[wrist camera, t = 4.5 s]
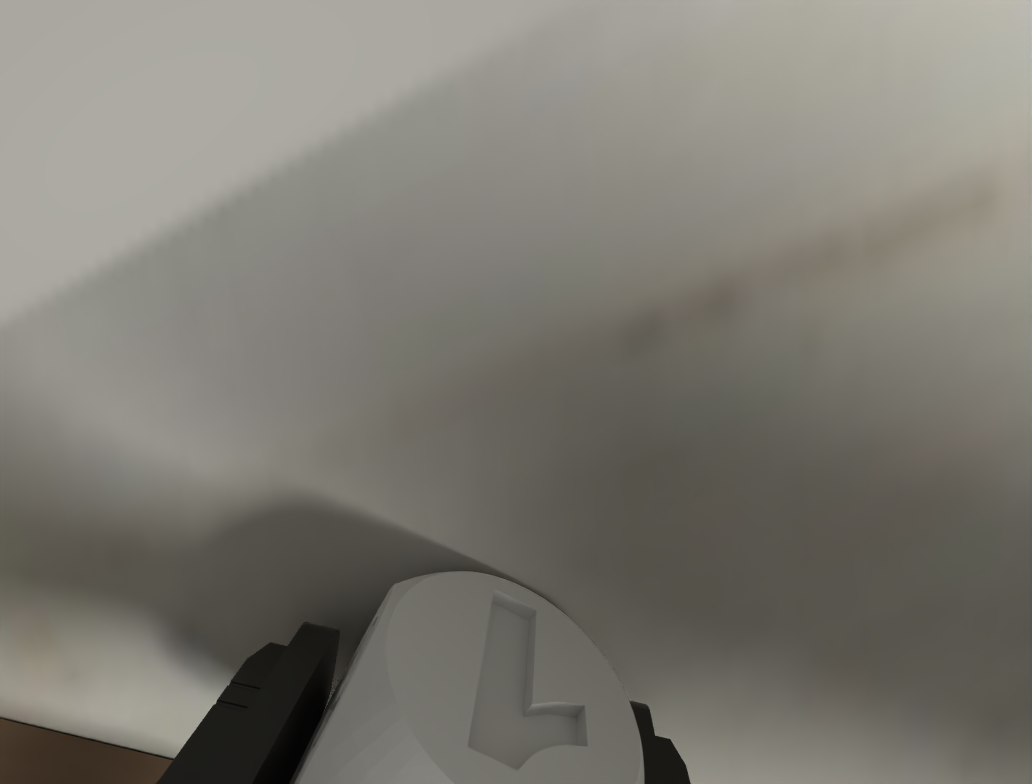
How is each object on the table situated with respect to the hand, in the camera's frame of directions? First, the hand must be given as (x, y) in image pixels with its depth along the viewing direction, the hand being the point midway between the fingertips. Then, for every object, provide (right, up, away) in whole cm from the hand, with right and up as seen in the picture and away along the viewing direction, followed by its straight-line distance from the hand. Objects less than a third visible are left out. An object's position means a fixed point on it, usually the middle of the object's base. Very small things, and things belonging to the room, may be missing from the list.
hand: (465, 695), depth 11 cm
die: (0, 0, +1) cm, 1 cm away
